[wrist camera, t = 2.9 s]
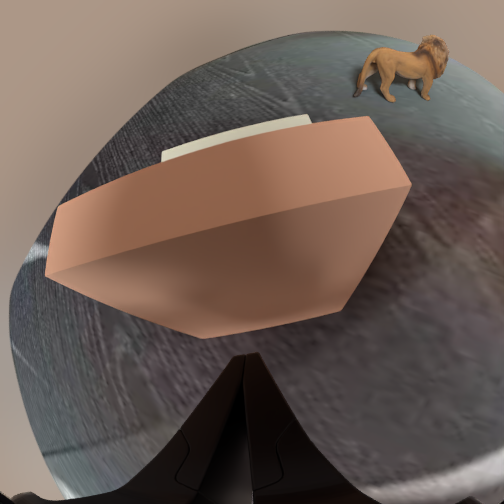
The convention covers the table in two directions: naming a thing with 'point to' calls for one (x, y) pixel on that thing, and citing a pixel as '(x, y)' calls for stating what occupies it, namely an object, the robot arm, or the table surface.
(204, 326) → the terracotta board
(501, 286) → the table surface
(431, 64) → the lion figurine
